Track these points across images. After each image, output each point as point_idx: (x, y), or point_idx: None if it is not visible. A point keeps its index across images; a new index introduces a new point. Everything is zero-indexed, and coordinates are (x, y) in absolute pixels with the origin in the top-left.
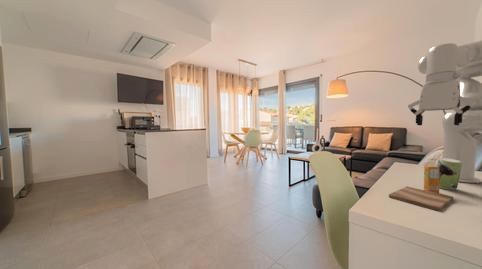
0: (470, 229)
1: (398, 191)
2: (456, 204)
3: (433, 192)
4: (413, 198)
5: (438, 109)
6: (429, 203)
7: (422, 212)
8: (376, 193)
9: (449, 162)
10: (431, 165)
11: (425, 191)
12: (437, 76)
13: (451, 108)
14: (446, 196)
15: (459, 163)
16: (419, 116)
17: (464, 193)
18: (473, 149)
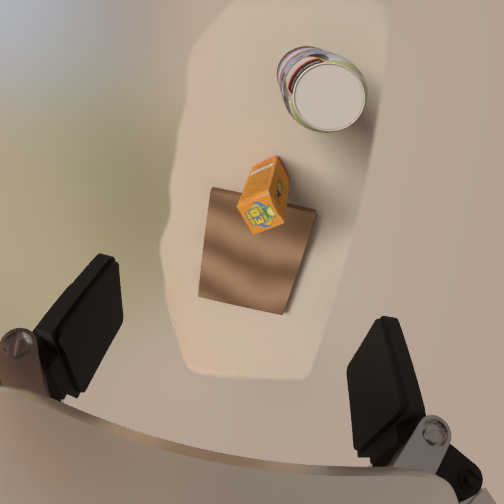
0: (312, 347)
1: (206, 261)
2: (317, 245)
3: None
4: (241, 292)
5: (191, 460)
6: (268, 302)
7: (260, 330)
8: (174, 284)
9: (323, 129)
10: (259, 199)
11: None
12: None
13: (380, 482)
14: (302, 224)
15: (359, 112)
16: (83, 383)
17: None
18: None
